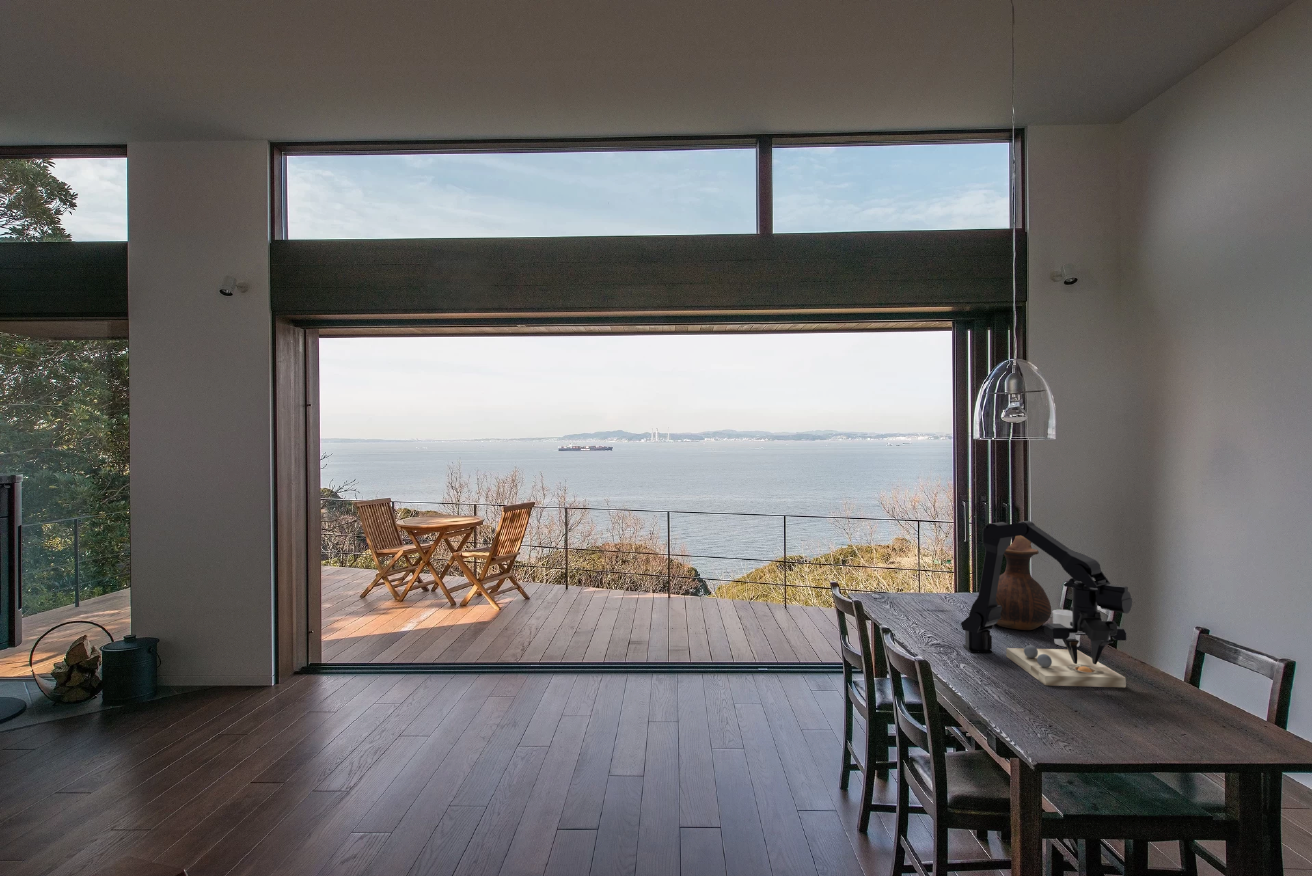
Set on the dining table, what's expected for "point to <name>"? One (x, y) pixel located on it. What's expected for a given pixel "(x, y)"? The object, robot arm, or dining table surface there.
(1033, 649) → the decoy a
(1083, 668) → the ball
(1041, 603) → the jug
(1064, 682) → the board
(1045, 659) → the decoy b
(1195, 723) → the dining table surface
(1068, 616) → the white cup
